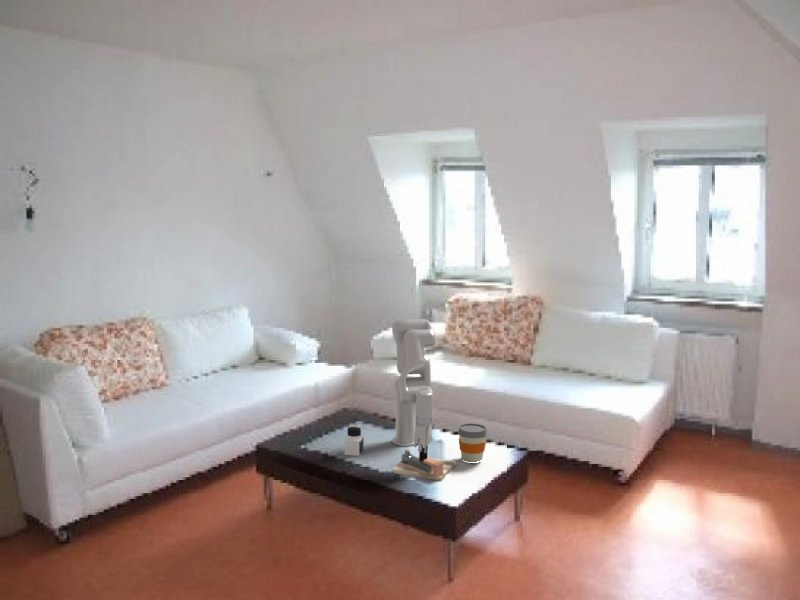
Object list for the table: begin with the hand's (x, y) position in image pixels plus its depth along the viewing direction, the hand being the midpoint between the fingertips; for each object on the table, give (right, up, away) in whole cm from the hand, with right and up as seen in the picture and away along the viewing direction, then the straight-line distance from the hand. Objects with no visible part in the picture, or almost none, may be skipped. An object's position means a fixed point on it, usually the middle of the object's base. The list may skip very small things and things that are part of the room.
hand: (423, 460), depth 282 cm
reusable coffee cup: (+22, -2, +10) cm, 25 cm away
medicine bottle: (-31, -1, +18) cm, 36 cm away
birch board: (0, -3, 0) cm, 3 cm away
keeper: (+4, -3, -8) cm, 10 cm away
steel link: (-3, -1, -2) cm, 3 cm away
